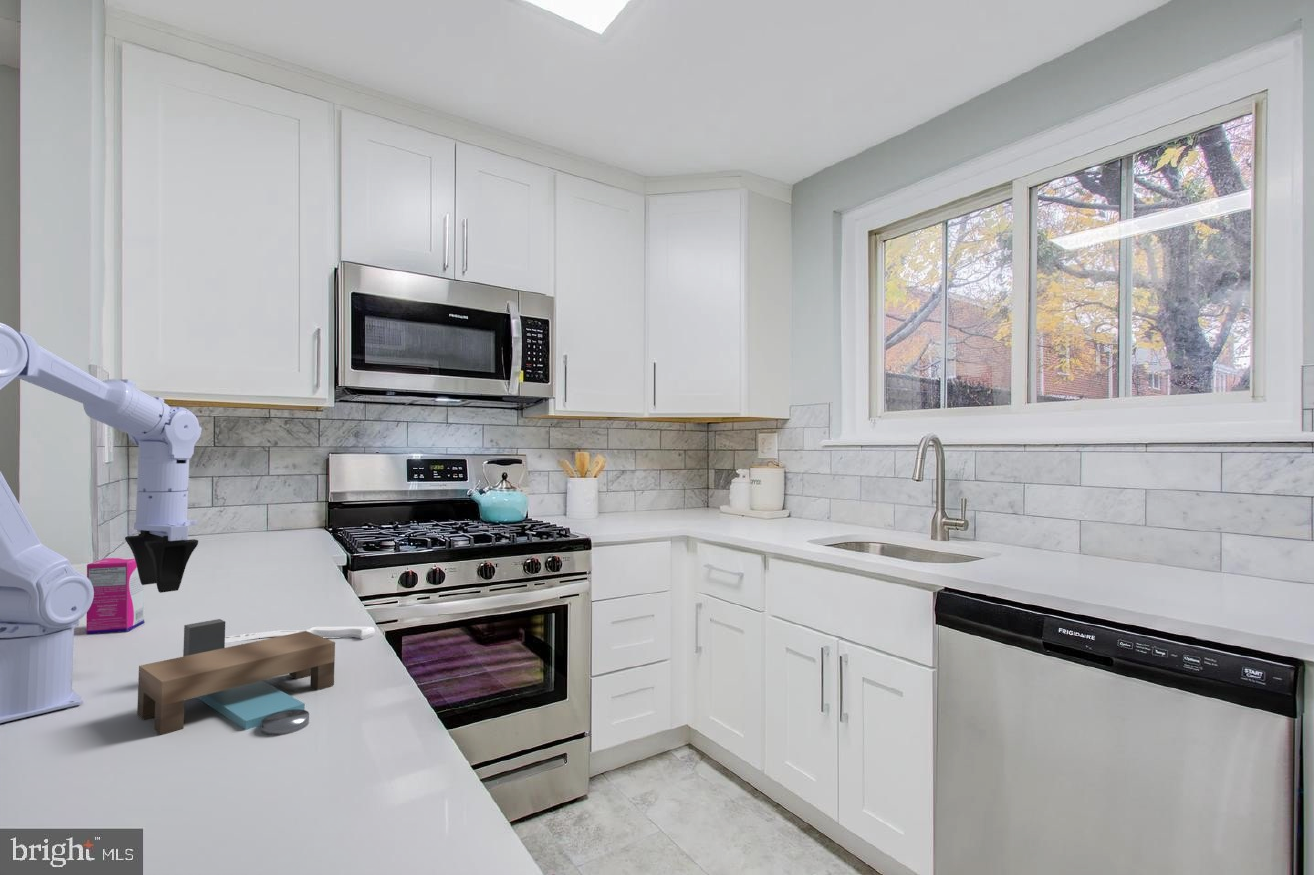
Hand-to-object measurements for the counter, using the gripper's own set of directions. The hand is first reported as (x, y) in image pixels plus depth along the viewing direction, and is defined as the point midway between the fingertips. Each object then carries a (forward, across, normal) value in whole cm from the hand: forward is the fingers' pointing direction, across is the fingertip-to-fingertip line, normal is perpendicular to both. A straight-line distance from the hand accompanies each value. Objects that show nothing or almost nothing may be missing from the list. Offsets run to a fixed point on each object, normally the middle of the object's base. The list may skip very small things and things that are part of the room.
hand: (159, 587), depth 88 cm
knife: (+11, -1, -14) cm, 18 cm away
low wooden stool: (+10, -24, -2) cm, 26 cm away
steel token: (+11, -36, -2) cm, 37 cm away
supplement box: (+11, +25, -1) cm, 27 cm away
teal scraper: (+11, -22, -2) cm, 24 cm away
